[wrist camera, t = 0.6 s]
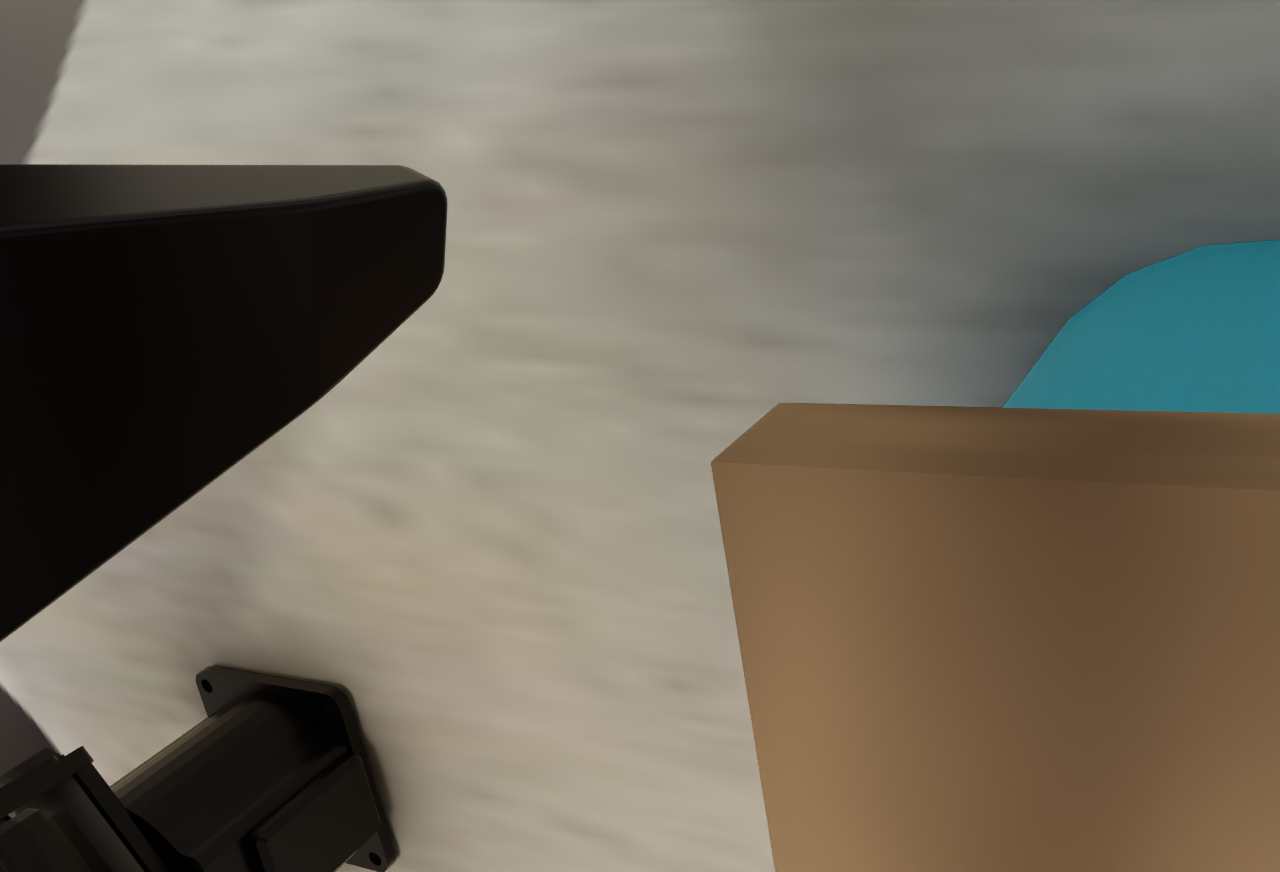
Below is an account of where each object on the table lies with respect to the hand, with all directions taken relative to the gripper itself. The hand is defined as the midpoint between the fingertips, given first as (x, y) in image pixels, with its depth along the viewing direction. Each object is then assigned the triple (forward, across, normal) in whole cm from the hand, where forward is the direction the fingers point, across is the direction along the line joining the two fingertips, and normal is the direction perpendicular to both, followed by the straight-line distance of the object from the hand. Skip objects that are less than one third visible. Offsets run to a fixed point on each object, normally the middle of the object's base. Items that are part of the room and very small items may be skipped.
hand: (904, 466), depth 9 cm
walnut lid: (+5, -2, +7) cm, 9 cm away
